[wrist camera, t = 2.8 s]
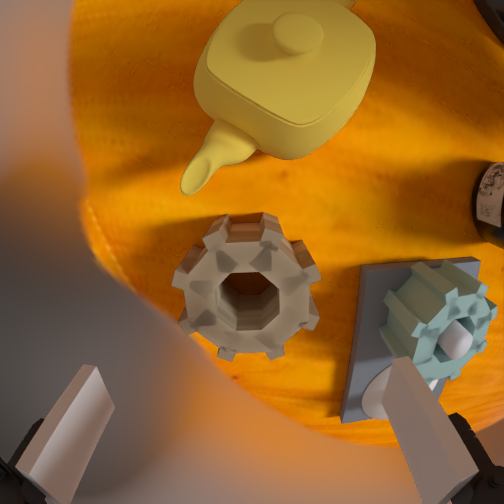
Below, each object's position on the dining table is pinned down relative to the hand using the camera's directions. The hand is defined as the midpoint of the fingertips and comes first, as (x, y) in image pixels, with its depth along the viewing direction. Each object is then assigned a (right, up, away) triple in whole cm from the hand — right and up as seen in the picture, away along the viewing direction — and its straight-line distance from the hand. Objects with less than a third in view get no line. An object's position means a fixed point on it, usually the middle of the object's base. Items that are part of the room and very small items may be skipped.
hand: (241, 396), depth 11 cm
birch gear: (0, +4, +14) cm, 15 cm away
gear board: (+18, -4, +16) cm, 25 cm away
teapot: (+2, +19, +10) cm, 21 cm away
